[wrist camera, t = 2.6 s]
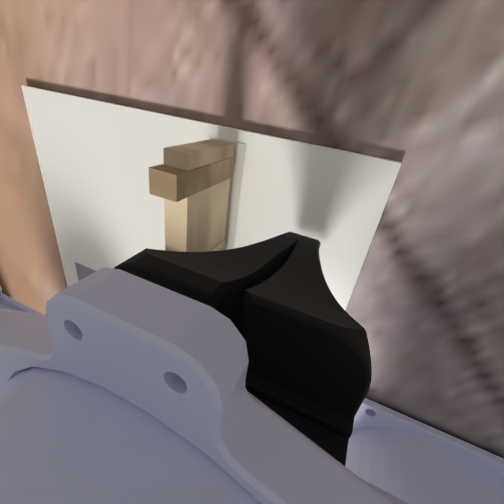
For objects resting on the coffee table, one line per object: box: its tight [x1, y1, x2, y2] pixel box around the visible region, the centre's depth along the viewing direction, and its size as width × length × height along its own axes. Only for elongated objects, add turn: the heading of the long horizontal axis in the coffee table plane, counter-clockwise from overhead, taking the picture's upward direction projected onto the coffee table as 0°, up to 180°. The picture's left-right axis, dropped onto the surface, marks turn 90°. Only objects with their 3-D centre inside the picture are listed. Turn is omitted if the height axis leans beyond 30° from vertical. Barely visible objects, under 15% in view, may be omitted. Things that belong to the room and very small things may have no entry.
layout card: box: [21, 85, 402, 310], centre depth 17 cm, size 20×16×1 cm
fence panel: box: [149, 139, 234, 252], centre depth 13 cm, size 10×1×4 cm, turn 172°
